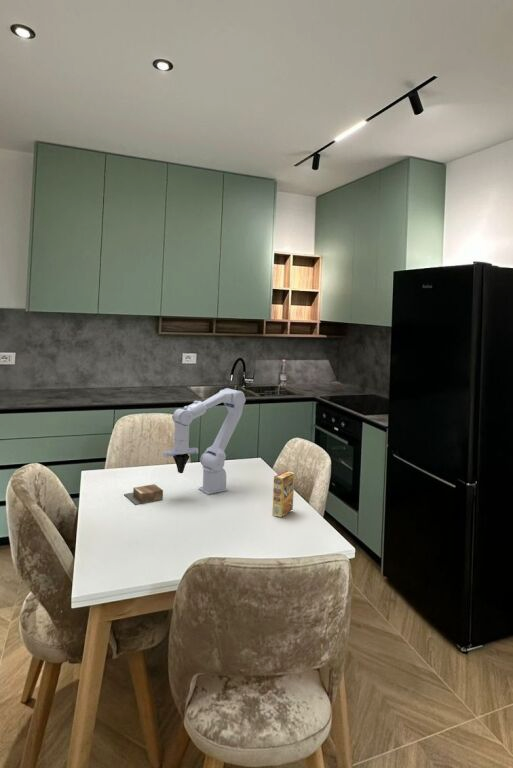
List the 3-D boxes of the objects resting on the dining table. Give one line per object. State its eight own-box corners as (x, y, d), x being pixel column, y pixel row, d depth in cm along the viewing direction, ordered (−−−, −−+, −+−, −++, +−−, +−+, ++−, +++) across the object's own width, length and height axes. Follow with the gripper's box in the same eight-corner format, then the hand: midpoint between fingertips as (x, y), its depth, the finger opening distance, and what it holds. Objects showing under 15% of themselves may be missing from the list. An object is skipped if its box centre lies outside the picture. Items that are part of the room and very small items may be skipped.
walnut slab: (154, 484, 195) (133, 487, 190) (163, 490, 189) (141, 494, 183) (154, 492, 196) (133, 496, 190) (162, 498, 189) (141, 502, 184)
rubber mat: (147, 490, 198) (147, 489, 198) (159, 500, 188) (159, 499, 188) (123, 495, 192) (123, 494, 192) (135, 505, 183) (135, 504, 182)
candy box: (281, 518, 177) (283, 478, 175) (271, 515, 179) (273, 475, 177) (293, 511, 184) (295, 472, 182) (283, 508, 186) (285, 470, 184)
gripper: (193, 435, 197) (191, 467, 198) (160, 438, 188) (159, 472, 190) (201, 439, 191) (200, 472, 193) (168, 442, 183) (167, 477, 184)
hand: (180, 472), depth 191 cm, fingers closed
